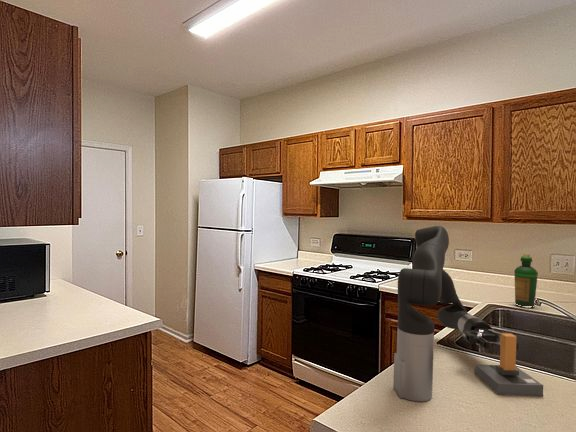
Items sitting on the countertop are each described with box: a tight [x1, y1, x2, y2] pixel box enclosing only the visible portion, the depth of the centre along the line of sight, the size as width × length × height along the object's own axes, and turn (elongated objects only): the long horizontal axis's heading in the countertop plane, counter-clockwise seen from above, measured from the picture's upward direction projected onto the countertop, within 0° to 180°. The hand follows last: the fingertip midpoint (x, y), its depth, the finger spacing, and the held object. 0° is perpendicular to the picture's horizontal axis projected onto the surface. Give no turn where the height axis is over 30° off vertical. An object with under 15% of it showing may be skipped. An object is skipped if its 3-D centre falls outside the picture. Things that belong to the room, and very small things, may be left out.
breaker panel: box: [474, 364, 544, 397], centre depth 104 cm, size 12×12×3 cm
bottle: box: [513, 253, 539, 308], centre depth 194 cm, size 11×11×28 cm
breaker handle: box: [495, 332, 519, 376], centre depth 103 cm, size 4×4×11 cm
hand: (502, 346), depth 106 cm, fingers open, 8 cm apart
